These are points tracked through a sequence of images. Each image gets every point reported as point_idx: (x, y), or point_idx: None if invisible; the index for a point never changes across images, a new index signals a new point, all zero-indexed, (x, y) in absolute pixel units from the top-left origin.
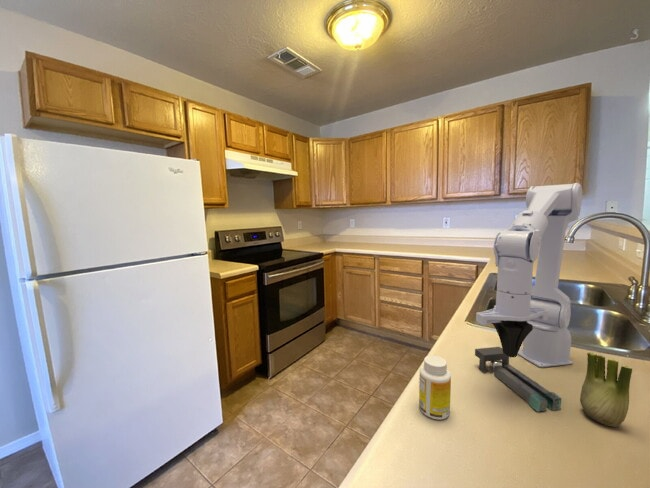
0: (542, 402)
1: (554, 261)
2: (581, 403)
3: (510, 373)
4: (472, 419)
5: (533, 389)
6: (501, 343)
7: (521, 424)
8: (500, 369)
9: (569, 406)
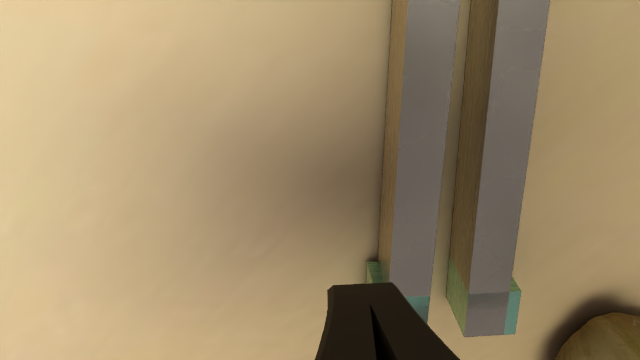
0: None
1: None
2: (589, 339)
3: (447, 94)
4: (7, 308)
5: (467, 218)
6: (322, 341)
7: (228, 349)
8: (417, 32)
9: (560, 276)
